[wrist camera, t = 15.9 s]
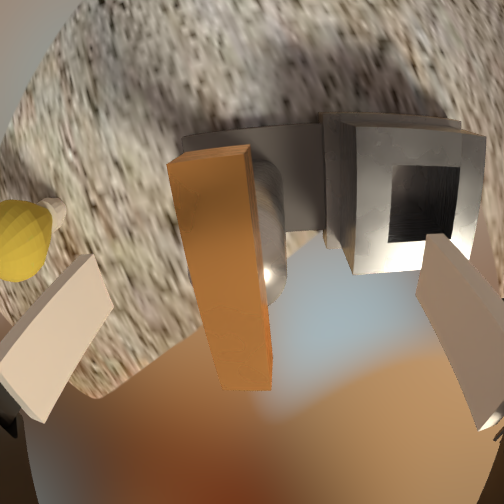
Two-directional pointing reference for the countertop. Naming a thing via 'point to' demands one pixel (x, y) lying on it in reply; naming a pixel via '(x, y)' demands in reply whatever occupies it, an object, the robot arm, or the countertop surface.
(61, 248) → the countertop surface
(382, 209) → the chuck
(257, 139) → the mat
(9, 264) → the light bulb
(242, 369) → the key
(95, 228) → the countertop surface
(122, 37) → the countertop surface
